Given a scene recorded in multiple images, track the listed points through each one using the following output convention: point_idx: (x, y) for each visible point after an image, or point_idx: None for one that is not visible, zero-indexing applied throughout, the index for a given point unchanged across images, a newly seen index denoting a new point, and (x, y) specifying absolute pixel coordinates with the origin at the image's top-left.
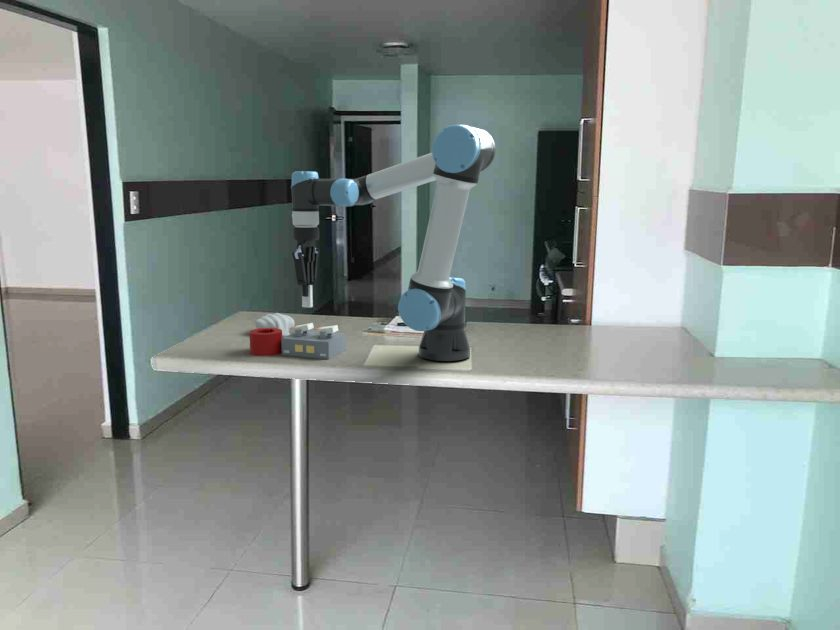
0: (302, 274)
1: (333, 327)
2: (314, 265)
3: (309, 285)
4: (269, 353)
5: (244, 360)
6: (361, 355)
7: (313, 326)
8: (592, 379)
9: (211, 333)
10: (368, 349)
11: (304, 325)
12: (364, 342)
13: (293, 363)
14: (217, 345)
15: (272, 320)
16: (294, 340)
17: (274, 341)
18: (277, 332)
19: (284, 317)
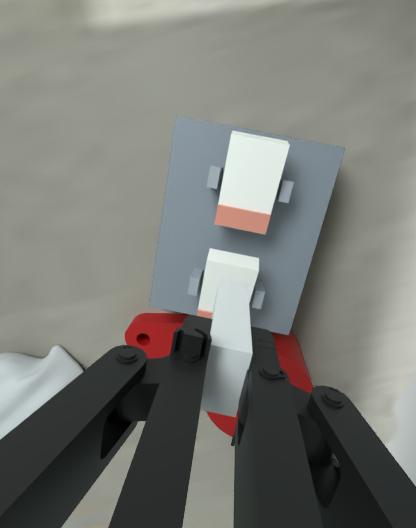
0: (410, 498)
1: (277, 142)
2: (31, 496)
3: (241, 360)
4: (297, 342)
5: (347, 385)
6: (261, 37)
7: (210, 251)
8: None
9: (84, 519)
10: (167, 32)
11: (255, 280)
12: (66, 78)
13: (380, 250)
14: (198, 479)
15: None
16: (301, 287)
17: (293, 349)
18: None
19: (5, 397)
